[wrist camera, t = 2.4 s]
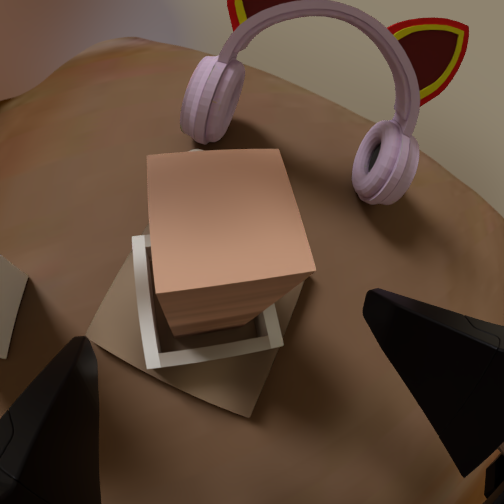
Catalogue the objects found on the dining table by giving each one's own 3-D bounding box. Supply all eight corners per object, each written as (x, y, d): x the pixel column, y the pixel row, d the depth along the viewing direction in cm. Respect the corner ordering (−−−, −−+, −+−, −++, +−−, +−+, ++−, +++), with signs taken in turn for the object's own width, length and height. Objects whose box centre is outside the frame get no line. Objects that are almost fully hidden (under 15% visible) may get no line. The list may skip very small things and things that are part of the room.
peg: (240, 327, 19) (316, 270, 8) (174, 337, 18) (155, 293, 7) (228, 265, 21) (278, 148, 10) (165, 273, 19) (146, 155, 8)
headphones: (176, 156, 25) (201, -72, 7) (211, 96, 29) (249, -72, 11) (374, 225, 27) (523, 83, 9) (373, 155, 31) (472, 29, 13)
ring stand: (303, 270, 23) (366, 212, 15) (244, 414, 18) (290, 449, 10) (168, 205, 23) (165, 117, 14) (91, 338, 18) (27, 314, 9)
